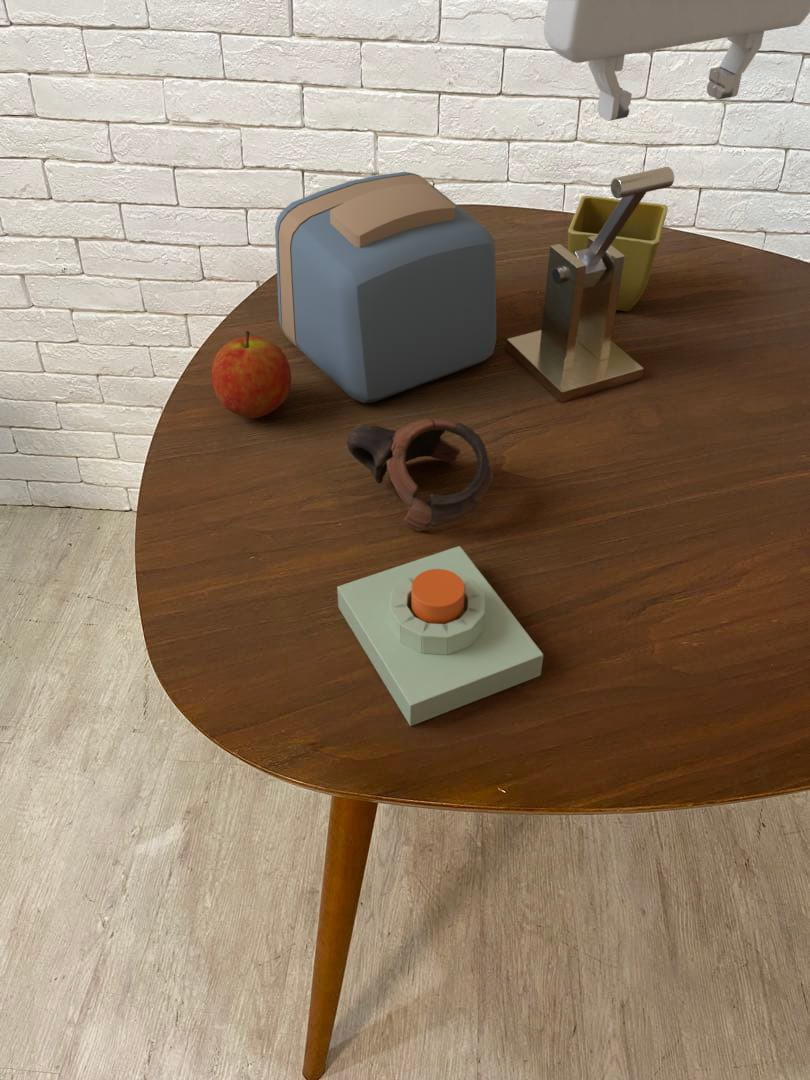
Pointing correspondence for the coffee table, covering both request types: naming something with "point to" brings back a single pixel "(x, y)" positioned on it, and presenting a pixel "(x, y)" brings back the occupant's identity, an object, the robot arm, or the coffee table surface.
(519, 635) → the button block
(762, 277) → the coffee table surface
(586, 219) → the flower pot
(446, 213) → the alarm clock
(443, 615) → the button
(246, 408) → the fruit
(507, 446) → the coffee table surface
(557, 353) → the bracket
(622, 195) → the lever
